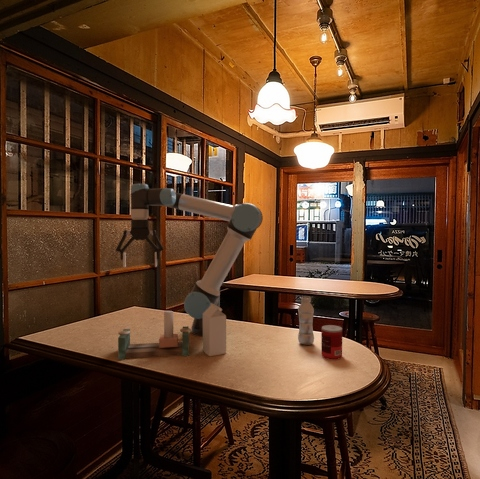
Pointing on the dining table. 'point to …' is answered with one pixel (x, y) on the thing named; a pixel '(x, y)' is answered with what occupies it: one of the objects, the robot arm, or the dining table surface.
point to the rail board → (151, 346)
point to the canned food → (331, 342)
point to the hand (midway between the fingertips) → (140, 267)
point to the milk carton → (214, 331)
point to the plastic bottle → (306, 321)
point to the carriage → (168, 332)
